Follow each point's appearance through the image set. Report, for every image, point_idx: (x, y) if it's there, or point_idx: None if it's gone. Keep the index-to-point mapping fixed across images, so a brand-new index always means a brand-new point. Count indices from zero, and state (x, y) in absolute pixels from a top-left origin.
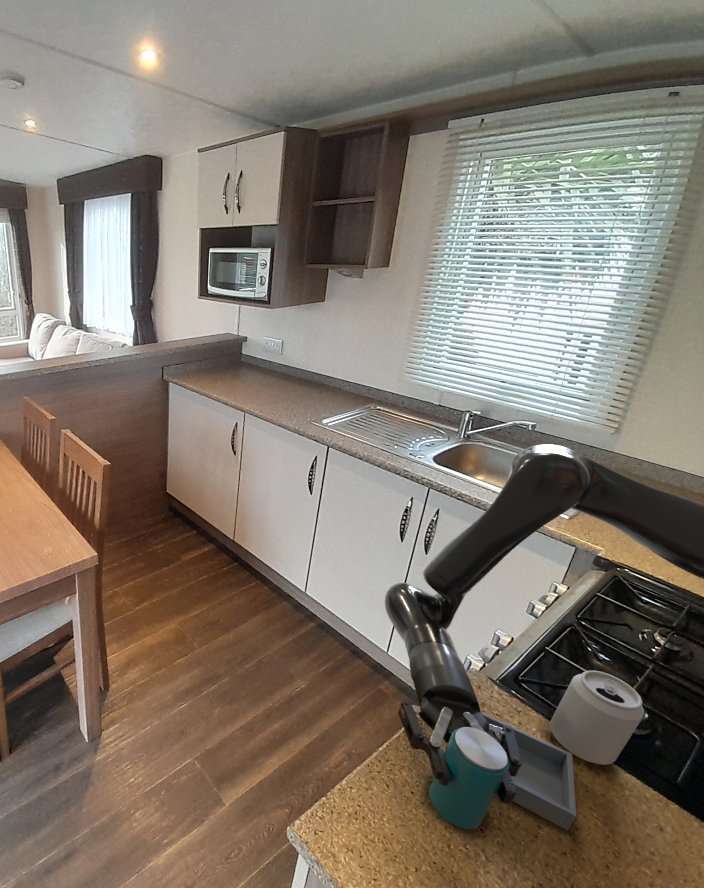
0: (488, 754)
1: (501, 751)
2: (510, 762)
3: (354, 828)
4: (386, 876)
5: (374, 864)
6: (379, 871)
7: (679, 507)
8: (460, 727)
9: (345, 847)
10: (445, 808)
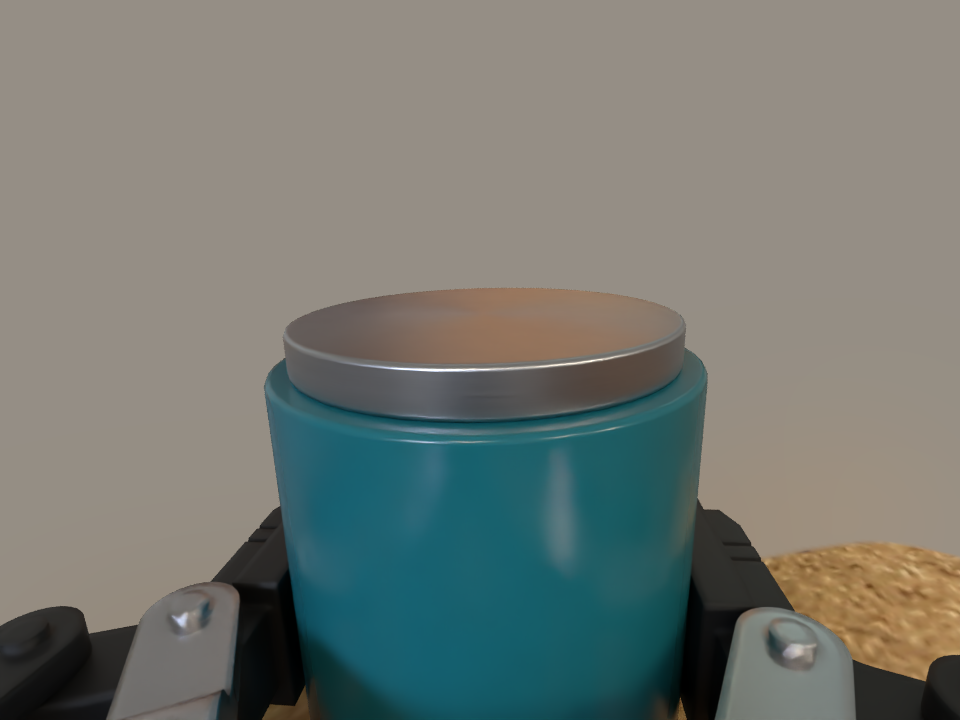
0: (450, 305)
1: (327, 317)
2: (92, 660)
3: (943, 654)
4: (776, 561)
5: (820, 577)
6: (799, 566)
7: None
8: None
9: (929, 596)
10: None
